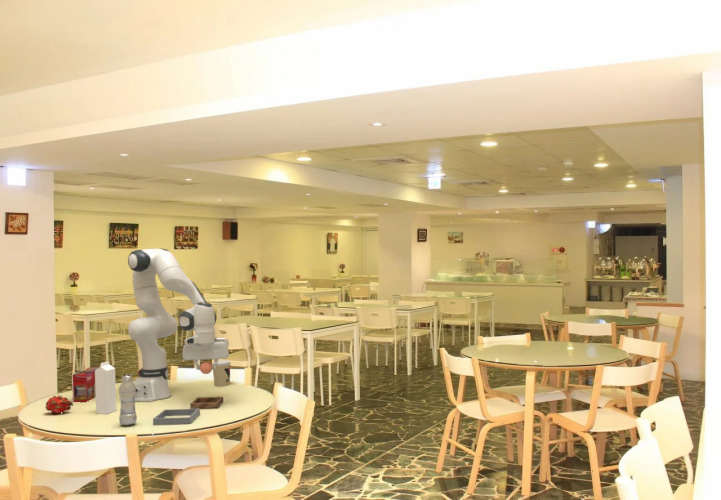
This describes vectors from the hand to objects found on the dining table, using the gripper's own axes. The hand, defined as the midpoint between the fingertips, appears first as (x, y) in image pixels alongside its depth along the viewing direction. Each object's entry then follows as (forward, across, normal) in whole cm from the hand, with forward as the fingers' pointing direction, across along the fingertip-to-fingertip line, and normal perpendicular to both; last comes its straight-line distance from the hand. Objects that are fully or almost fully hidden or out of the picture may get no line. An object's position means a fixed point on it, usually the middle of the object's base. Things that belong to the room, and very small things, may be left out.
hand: (206, 369), depth 284 cm
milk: (+16, +43, +6) cm, 46 cm away
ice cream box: (+16, +64, -25) cm, 71 cm away
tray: (+16, 0, 0) cm, 16 cm away
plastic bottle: (+16, +25, +29) cm, 42 cm away
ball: (-1, 0, 0) cm, 1 cm away
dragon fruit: (+16, +64, +5) cm, 66 cm away
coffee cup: (+16, +3, -45) cm, 48 cm away
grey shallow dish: (+16, +7, +23) cm, 29 cm away
